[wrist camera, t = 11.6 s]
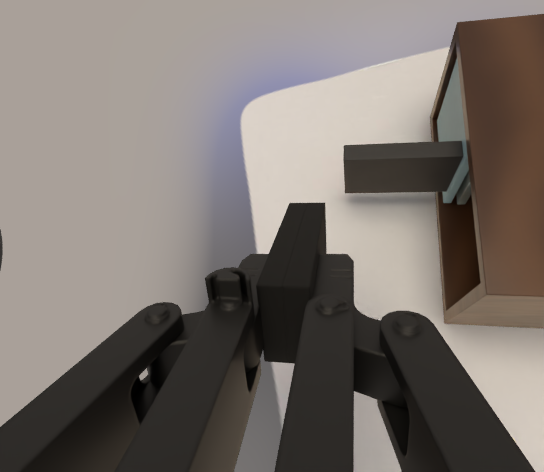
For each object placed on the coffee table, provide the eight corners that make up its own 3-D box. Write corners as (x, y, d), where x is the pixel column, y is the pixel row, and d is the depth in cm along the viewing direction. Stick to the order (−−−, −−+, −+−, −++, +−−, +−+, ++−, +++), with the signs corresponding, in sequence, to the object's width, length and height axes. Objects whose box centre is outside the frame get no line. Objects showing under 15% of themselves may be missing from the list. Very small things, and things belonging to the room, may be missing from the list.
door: (345, 204, 32) (343, 153, 25) (346, 125, 35) (344, 58, 28) (451, 203, 31) (480, 147, 24) (444, 120, 33) (469, 47, 26)
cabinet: (444, 323, 29) (486, 294, 20) (430, 117, 35) (457, 21, 26) (619, 332, 27) (758, 303, 17) (571, 110, 33) (655, 2, 24)
